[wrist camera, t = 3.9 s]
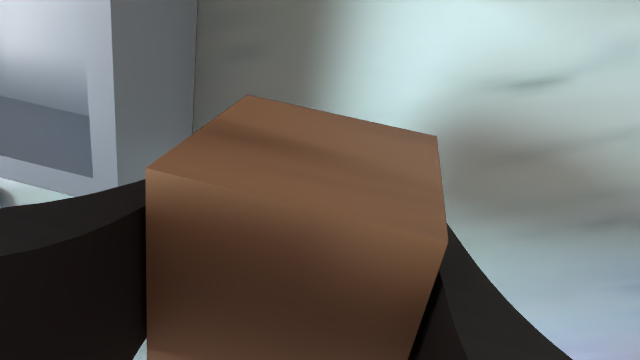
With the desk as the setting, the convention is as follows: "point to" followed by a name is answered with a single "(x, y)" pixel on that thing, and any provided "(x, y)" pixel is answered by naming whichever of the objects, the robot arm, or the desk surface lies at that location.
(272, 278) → the walnut cube
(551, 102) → the desk surface
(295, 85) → the desk surface
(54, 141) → the tote
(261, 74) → the desk surface
